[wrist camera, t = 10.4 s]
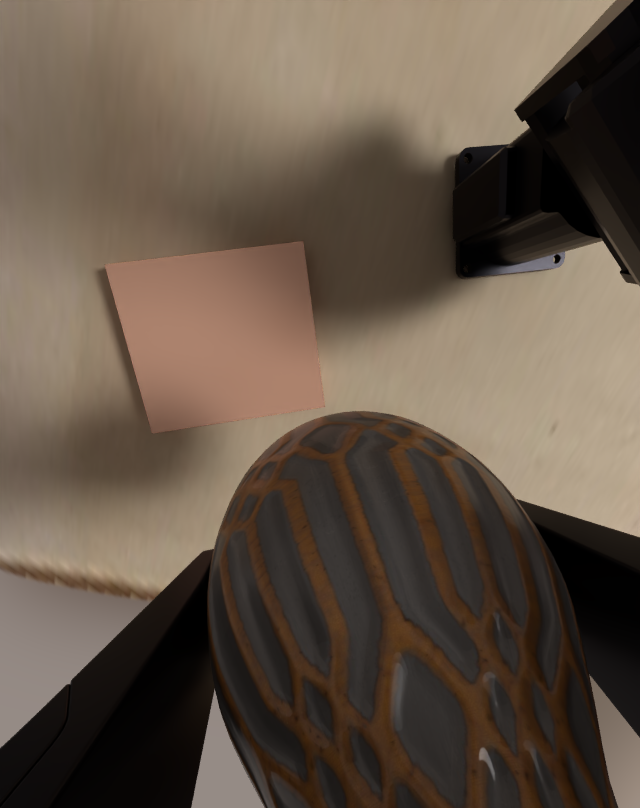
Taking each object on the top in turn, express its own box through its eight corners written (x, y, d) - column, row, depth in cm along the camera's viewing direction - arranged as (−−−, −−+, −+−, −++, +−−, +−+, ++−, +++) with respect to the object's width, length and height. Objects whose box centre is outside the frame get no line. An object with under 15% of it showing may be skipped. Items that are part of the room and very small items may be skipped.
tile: (303, 241, 16) (325, 407, 18) (301, 248, 18) (322, 401, 20) (104, 264, 16) (152, 433, 18) (120, 270, 17) (162, 425, 19)
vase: (473, 477, 11) (1060, 935, 3) (340, 604, 12) (483, 1290, 3) (338, 343, 10) (772, 455, 1) (193, 498, 10) (-252, 1329, 2)
